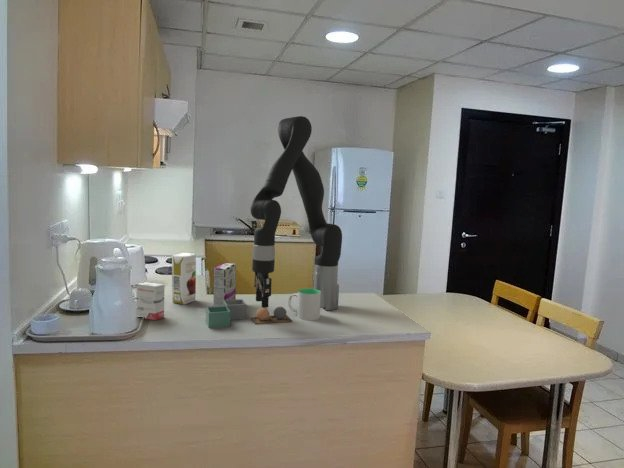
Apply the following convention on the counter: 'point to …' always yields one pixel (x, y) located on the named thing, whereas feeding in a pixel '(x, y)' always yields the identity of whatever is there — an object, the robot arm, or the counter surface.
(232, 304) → the grey open box
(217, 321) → the green open box
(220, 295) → the candy bar box
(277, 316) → the ball grey
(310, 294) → the mug
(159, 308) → the ink box
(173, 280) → the juice carton
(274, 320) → the rack
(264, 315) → the ball clay
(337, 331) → the counter surface
